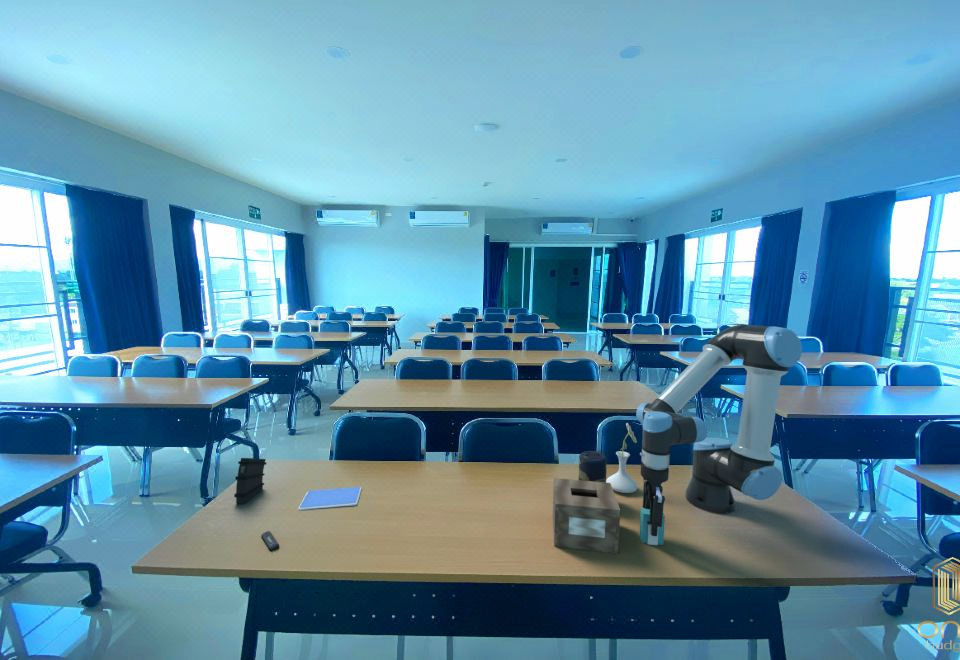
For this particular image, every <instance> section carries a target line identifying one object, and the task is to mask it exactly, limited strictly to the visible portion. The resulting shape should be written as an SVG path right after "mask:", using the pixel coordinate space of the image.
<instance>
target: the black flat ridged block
mask: <svg viewBox="0 0 960 660" xmlns="http://www.w3.org/2000/svg"><path fill="white" fill-rule="evenodd" d="M237 464H238V465H239V466H238V469H237V470H238V471H237V476H235V481H236V487H235V489H236V490H235V493H234V494H233V495H234V496H233V497H234V498H236V499H235V503H236V505H245V504H246V503H247V502H249V501H250V500H251V499H253V498H254V497H255V496H256V495H257V494H258V493H260V492H261V491H262V490H263V487H264V485H265V482H264V481H263V477H264V476H265V473H264V469H265V465H267V462H266V458H253V457H241V458H240V461H239V460H238V462H237Z"/></svg>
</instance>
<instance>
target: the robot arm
mask: <svg viewBox="0 0 960 660" xmlns="http://www.w3.org/2000/svg"><path fill="white" fill-rule="evenodd" d="M797 335H798V334H796V333H795V332H794V331H793V330H791V329H789V328H786V327H779V326H770V325H769V326H768V325H767V326H766V325H757V324H756V325H753V324H736V325H732V326H729V327H728V328H726V329H724V330H721V331H720V332H718V333H717V334H716V335H714V336H713V337H712V338H711V339H709V340H708V341H707V342H706V343H705V344H704V345H703V346H702V351H701V353H699V355H697V357H696V358H694V359H693V361H691V363H690V364H689V365H688V366H687V367H685V369H684V370H683V371H682V372H681V373H680V374H678V376H677V377H676V378H675V379H674V380H673V381H672V382H671V383H670V384H669V385H668V386H667V387H666V388H665V389H664V390H663V391H662V392H661V393H660V394H659V395H658V396H657V397H656V398H655V399H654V400H653V401H652V402H651V403H650V402H643V403H641V404H640V405H639V406H638V407H637V409H636V414H635V415H636V416H635V417H636V419H637V420H638V422H639V423H641V424H642V441H641V445H642V446H641V452H640V453H639V456H641V463H640V476H641V477H642V478H643V479H642V480H643V493H642V509H650V522H649V521H647V524H648V537H647V543H646V544H647V545H650V546H658V545H659V544H658V530H659V527H662V518H663V514H664V505H665V502H666V501H665V500H666V496H664V495H662V494H663V485H662V484H663V483H666V482H667V481H669V473H670V469H669V467H670V463H671V462H670V461H671V446H673V445H674V446H675V445H683V444H693V449H692V471H691V473H692V475H691V478H690V481H689V483H688V485H687V487H686V490H685V499H686V501H688V502H689V503H690V504H691V505H693V506H695V507H696V508H698V509H701V510H704V511H706V512H710V513H716V514H730V513H733V512H734V511H735V509H736V501H735V498H734V495H733V494H734V493H733V491H732V488H733V489H735V490H737V491H739V492H740V493H742V495H745V496H748V497H750V498H753V499H754V500H757V501H764V500H767V499H770V498H772V497H773V496H774V495H775V494H776V493H777V492H778V491H779V489H780V488H781V486H782V483H783V474H782V472H781V470H780V469H779V468H777V467H776V466H775V461H776V460H775V458H776V457H775V456H774V455H773V454H772V453H771V444H772V437H773V431H774V424H775V420H776V419H775V418H776V412H777V406H778V399H779V393H780V392H779V390H780V384H781V380H782V379H781V378H782V376H785V375H786V374H787V373H789V369H790V367H793V366H795V365H797V364H798V362H799V360H801V357H802V352H803V347H802V343H801V340H800V337H798V336H797ZM735 360H742V367H743V368H744V369H745V370H746V377H745V378H746V379H745V386H744V392H743V399H742V406H741V411H740V412H741V413H740V420H739V426H738V433H737V441H736V443H735V444H733V442H732V441H730V440H728V439H725V438H720V437H708V427H707V425H706V423H705V421H704V420H703V419H702V418H700V417H698V416H683V415H680V414H678V412H679V411H680V410H681V409H683V407H684V406H685V405H686V404H687V403H688V402H689V401H690V400H691V399H692V398H693V397H694V396H695V395H696V394H697V393H698V392H699V391H700V390H701V389H702V388H703V387H704V385H706V384H707V383H708V381H709V380H711V379H712V378H713V377H714V375H715V374H716V373H718V372H719V370H720V369H721V368H722V367H723V366H724V367H725V366H726V367H727V366H729V365H730V364H731V363H732V362H733V361H735Z"/></svg>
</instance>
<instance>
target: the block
mask: <svg viewBox="0 0 960 660" xmlns="http://www.w3.org/2000/svg"><path fill="white" fill-rule="evenodd" d="M639 517H640V519H639V534H638V535H639V536H638V537H639V538H640V541H641V543H642V544H647V537H648V524H647V521H649V522H650V509H644V508H643V507H642V508H640V515H639ZM665 517H666V515H665V514H664V513H663V518H662V527H659V530H658V545H662V546H663V545H664V539H665V523H666V519H665Z"/></svg>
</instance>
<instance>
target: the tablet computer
mask: <svg viewBox="0 0 960 660" xmlns="http://www.w3.org/2000/svg"><path fill="white" fill-rule="evenodd" d="M362 490H363V489H362V487H361V486H353V487H340V488H328V489H327V488H326V489H316V490H315V489H314V490H309V491H307V492H306V494H305V496H304V497H303V499H302V501H301V503H300V505H299V506H298V509H297V510H298V511H307V510H319V509H328V508H340V507H351V506H352V507H353V506H358V503H359V499H360V496H361V493H362Z"/></svg>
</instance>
